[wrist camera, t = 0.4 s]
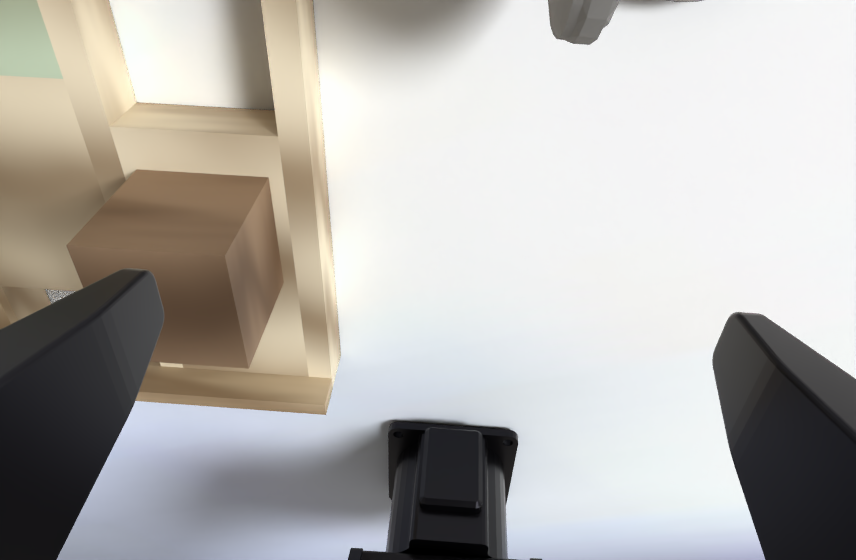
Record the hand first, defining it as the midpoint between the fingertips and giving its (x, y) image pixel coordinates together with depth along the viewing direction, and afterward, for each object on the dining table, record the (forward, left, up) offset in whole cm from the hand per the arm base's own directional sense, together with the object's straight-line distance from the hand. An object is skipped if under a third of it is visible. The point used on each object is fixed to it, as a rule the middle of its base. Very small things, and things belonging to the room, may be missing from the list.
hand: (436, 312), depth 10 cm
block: (-6, +8, -11) cm, 15 cm away
